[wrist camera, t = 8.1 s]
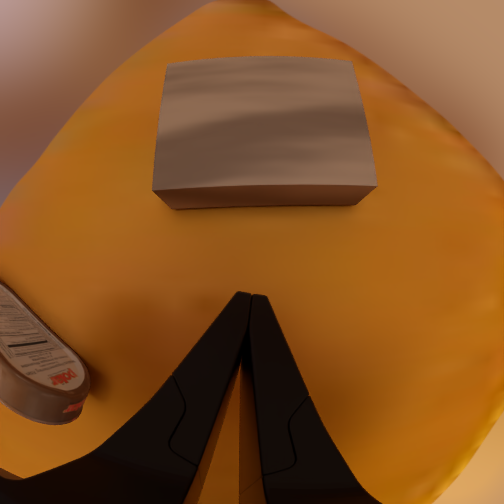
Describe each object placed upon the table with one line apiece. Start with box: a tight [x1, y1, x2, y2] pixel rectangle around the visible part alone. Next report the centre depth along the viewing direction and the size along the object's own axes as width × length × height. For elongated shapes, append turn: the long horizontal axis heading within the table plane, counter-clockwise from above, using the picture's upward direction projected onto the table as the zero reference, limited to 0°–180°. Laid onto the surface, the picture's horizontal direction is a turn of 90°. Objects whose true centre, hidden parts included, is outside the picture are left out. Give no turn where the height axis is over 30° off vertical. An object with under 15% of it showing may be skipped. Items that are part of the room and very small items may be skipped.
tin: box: [0, 282, 91, 425], centre depth 15 cm, size 15×3×8 cm, turn 60°
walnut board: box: [152, 56, 377, 209], centre depth 18 cm, size 4×12×9 cm
